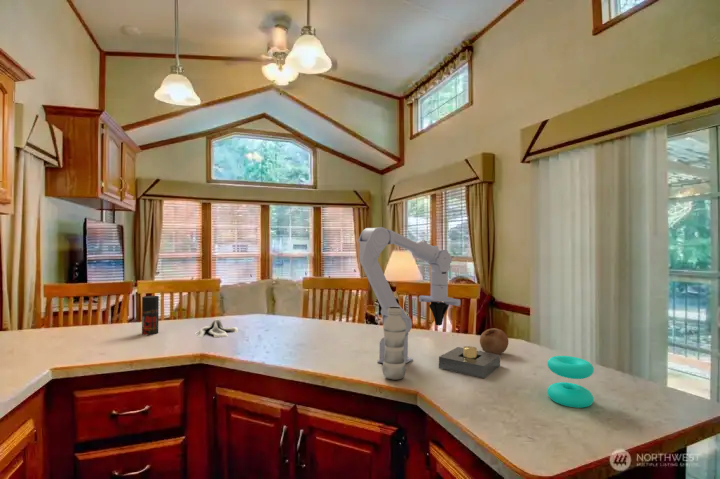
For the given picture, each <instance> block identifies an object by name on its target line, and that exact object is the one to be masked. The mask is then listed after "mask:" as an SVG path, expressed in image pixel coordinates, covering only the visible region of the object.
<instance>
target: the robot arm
mask: <svg viewBox="0 0 720 479" xmlns="http://www.w3.org/2000/svg"><path fill="white" fill-rule="evenodd" d="M357 241H358V246H359V247H358V248H359V251H358V252H359V253H358V260H359V263H360V265H361V268H362V270H363V272H364V274H365V276H366V278H367V279H368V280H367V281H368V282H369V284H370V287H371V289H372V290H373V293H374V295H375V297H376V299H377V300H378V303H379V306H380V307H381V309H380V314H381V317H382V320H381V321H382V326H383V325H384V322H385V321H386V319H387V318H388V316H389V314H388V307H392V306H395V307H401V306H400V304H399V303H398V301H397V299H396V297H395V295H394V292H393V290H392V288H391V287H390V284H389V282H388V280H387V278H386V276H385V273H384V271H383V269H382V267H381V265H380V263H379V261H378V260H379V257H380V255H381V253H382V252H383V251H384V250H385V248H386V247H387V246H388V245H394V246H397V247H400V248H402V249H405V250H408V251H410V252H411V254H412V256H413V257H415V258H416V259H419V260H422V261H423V262H427V263H428V264H429V265H430V295H423V294H422V295H419V296H418V302H419V303H421V302H424V303H429V305H428V307H429V309H430V310H431V313H432V316H433V318H434V322H435V326H443V321H444V318H445V315H446V312H447V310H448V308H449V307H450V306H455V307H459V306H461V299H458V298H452V297H449V295H448V294H449V291H448V290H449V282H448V281H449V271H450V270H449V269H450V265H451V263H452V260H453V257H451V254H450V253H449V251H448V250H446V249H440V248H439V246H437V245H434V246H433V245H431V244H429V243H428V241H427V240H425V239H422V240H417V241H414V240H412V239H410V238H408V237H406V236H404V235H402V234H400V233H398V232H396V231H394V230H392V229H388V228H386V227H383V226H379V227H366V228H364V229H363V230H362V231H361V232H360V235H359V237H358V239H357ZM401 312H402V314H401V317H402V319H403V320H404V322H405V324H406V333H405V339H404V362H405V364H407V363H410V362H411V361H413V360H414V358H412V357H410V356H409V349H408V348H409V332H411V330H412V327H413V321H412V319H411V317H410V316H409V315H407V314H406V312H405V310H404V309H403V307H401ZM384 354H385V338H384V336H383V337H382V338H381V339H380V341H379V359H378V360H376V361H377V363H380V364H383V361H384ZM408 356H409V357H408Z"/></svg>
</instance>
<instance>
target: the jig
mask: <svg viewBox="0 0 720 479" xmlns="http://www.w3.org/2000/svg"><path fill="white" fill-rule="evenodd" d="M500 366H501V354H493V353H488V352H485V351H483V350H482V351H481V350H477V359H476V360H474V359H469V358H464V357H463V347H461V346H458V347H455V348H453V349H451V350H450V351H449V350H448V352H445V353H443V354H442V355H440V356H438V369H441V370H445V371H450V372H455V373H458V374H463V375H466V376H472V377H477V378H479V379H480V378H481V379H485V378H487V377H488V376H489V375H491V373H493V372H494V371H496V370H497V369H498V368H500Z"/></svg>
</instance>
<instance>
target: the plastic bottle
mask: <svg viewBox="0 0 720 479" xmlns="http://www.w3.org/2000/svg"><path fill="white" fill-rule="evenodd" d="M401 308H402V307H401V306H400V307H395V306H392V307H388V314H389V316H388V318H387V319H386V321H385V322H384V325H383V324H382V328H383V329H382V330H383V337H384V338H385V354H384V361H383V363H382V366H381V369H382V375H383V376H384V378H386V379H389V380H402V379H403V378H404V377H405V376H406V371H407V369H406V367H407V366H406V363H405V362H404V339H405V333H406V324H405V322H404V320H403V319H402V317H401V314H402V312H401Z"/></svg>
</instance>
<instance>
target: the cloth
mask: <svg viewBox="0 0 720 479" xmlns="http://www.w3.org/2000/svg"><path fill="white" fill-rule="evenodd" d="M238 332H239V328H238V327H237V326H234V327H224V325H223V324H222V321H221V319H219V318H215V319H214V320H213V321H212V322H211V323H210V324H209V325H206V326H203V327H201V328H200V329H199V330H198V331H196V332H195V333H194V335H197V336H196V338H203V337H204V336H205V335H213V338H225V337H229V335H228V333H235V334H236V333H238Z"/></svg>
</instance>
